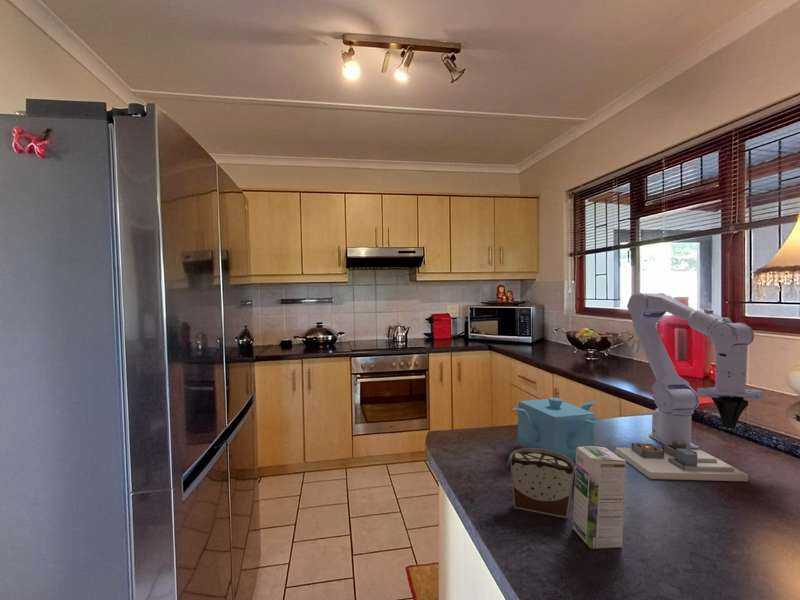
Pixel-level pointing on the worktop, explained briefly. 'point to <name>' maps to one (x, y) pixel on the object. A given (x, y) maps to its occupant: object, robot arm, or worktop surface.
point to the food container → (541, 481)
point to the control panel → (678, 464)
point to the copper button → (647, 447)
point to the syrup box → (599, 497)
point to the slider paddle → (686, 457)
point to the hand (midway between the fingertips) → (728, 427)
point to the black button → (679, 445)
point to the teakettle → (555, 425)
